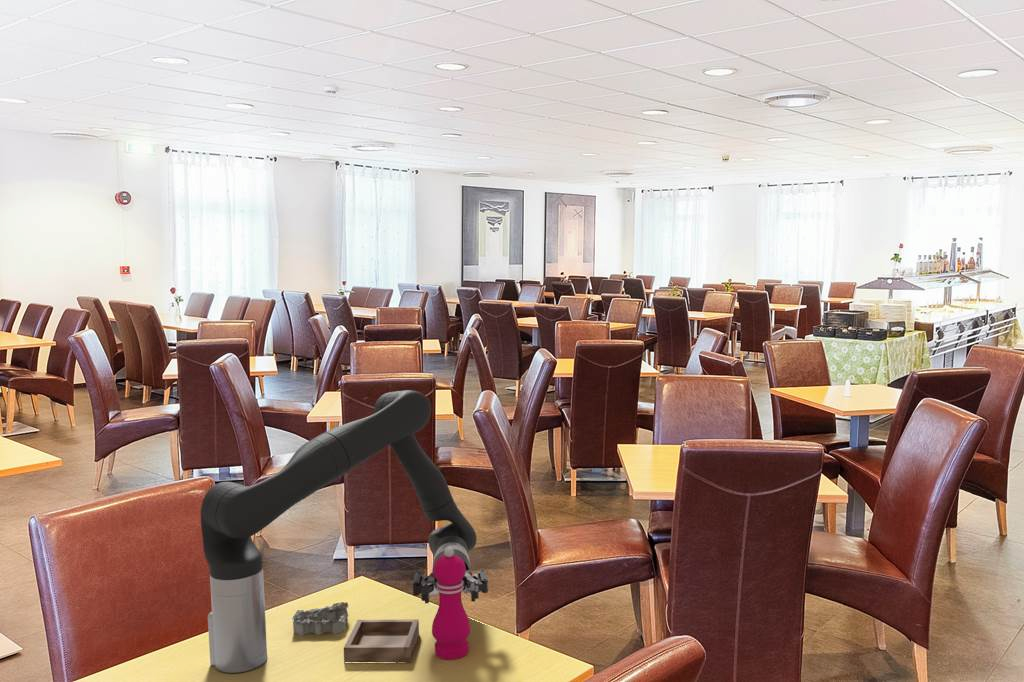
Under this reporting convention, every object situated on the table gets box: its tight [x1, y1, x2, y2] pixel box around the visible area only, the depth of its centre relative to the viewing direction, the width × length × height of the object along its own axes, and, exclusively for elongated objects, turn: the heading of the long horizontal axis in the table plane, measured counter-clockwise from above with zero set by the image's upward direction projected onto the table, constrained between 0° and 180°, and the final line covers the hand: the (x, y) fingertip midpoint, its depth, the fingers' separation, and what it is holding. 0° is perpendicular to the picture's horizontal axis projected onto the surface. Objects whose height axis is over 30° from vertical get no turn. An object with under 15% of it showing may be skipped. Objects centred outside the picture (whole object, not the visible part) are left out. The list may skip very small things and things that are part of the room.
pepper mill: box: [431, 548, 471, 660], centre depth 157 cm, size 7×7×20 cm
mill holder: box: [343, 618, 420, 664], centre depth 160 cm, size 12×12×3 cm
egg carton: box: [291, 601, 349, 636], centre depth 170 cm, size 11×8×4 cm
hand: (450, 597), depth 156 cm, fingers open, 8 cm apart
